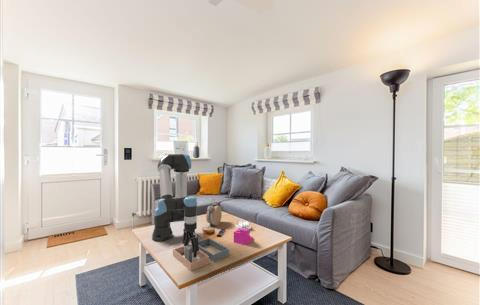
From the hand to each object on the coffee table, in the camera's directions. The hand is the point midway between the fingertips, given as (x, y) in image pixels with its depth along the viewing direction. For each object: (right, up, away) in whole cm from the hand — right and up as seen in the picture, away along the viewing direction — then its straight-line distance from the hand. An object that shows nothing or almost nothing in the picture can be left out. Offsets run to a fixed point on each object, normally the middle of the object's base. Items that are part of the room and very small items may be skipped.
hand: (190, 258), depth 130 cm
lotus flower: (+33, -1, +49) cm, 59 cm away
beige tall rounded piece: (+7, 0, +61) cm, 62 cm away
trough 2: (+11, 0, +10) cm, 15 cm away
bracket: (+33, -1, +28) cm, 43 cm away
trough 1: (0, 0, 0) cm, 0 cm away
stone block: (0, 0, 0) cm, 0 cm away
